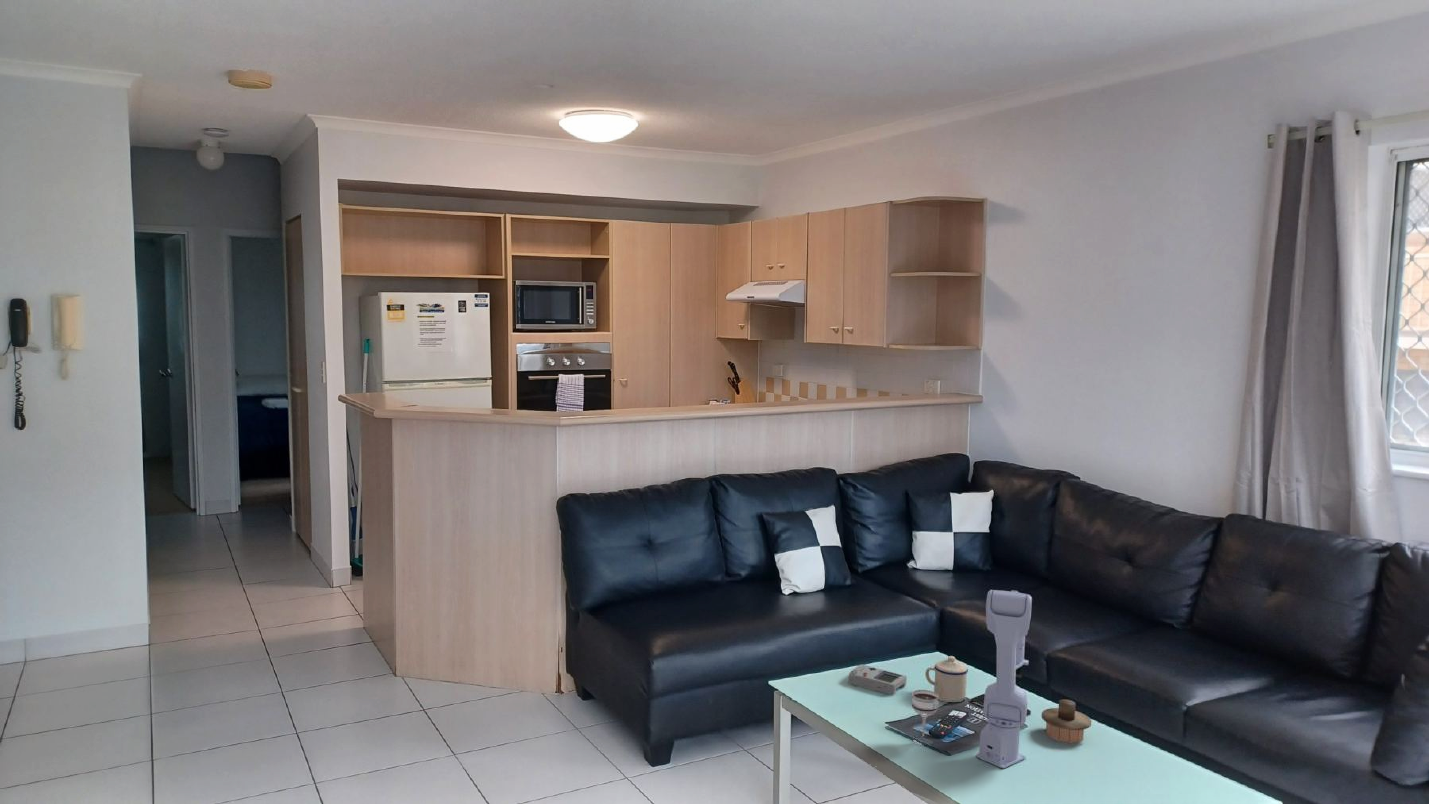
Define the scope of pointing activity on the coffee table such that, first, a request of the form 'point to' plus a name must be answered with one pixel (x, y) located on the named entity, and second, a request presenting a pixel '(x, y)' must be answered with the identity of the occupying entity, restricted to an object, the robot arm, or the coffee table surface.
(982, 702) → the phone
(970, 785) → the coffee table surface
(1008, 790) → the coffee table surface
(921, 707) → the wineglass
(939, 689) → the teacup with lid
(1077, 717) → the walnut lid
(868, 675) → the handheld gaming device
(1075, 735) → the terracotta bowl
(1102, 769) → the coffee table surface
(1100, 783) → the coffee table surface
